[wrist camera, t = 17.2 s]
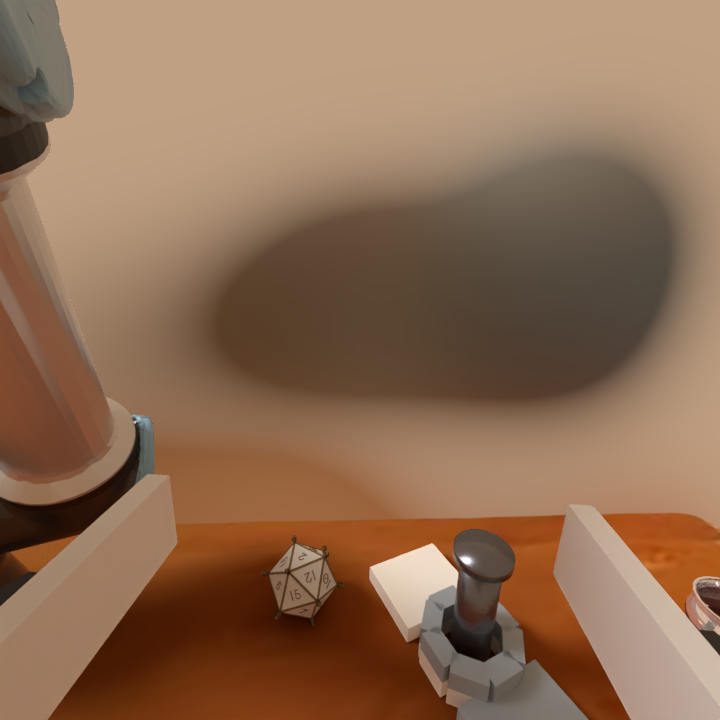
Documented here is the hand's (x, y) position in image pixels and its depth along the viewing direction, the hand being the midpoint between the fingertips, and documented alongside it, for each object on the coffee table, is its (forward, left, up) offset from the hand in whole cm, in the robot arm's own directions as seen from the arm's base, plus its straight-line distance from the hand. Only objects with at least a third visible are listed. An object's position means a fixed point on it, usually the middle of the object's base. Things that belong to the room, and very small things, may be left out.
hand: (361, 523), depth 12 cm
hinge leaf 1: (-15, +19, -32) cm, 40 cm away
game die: (-24, +5, -32) cm, 41 cm away
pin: (-11, +19, -32) cm, 39 cm away
